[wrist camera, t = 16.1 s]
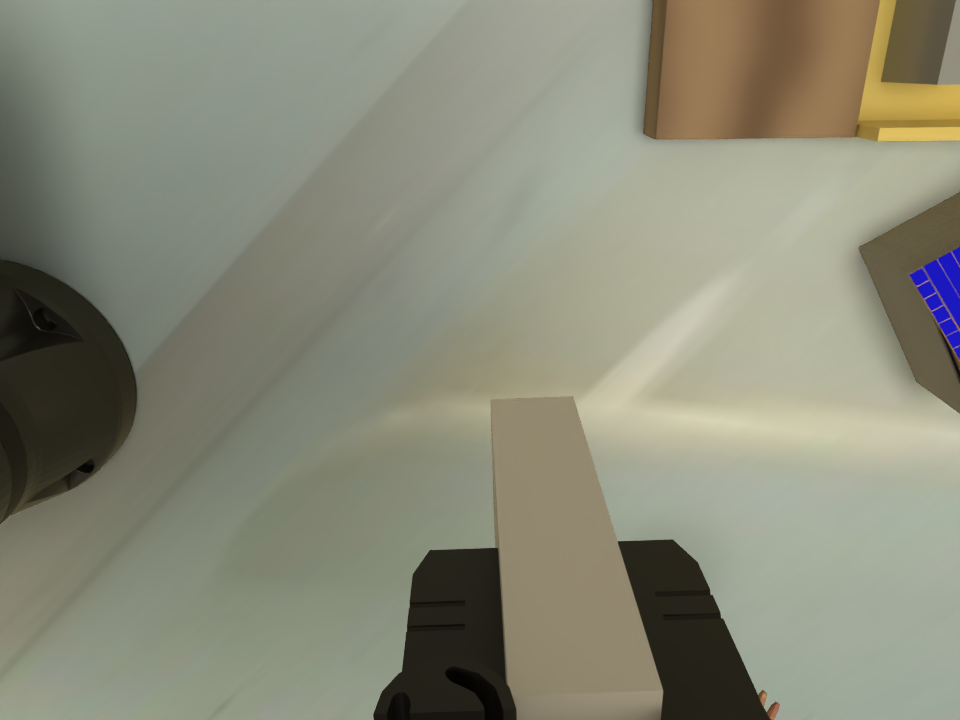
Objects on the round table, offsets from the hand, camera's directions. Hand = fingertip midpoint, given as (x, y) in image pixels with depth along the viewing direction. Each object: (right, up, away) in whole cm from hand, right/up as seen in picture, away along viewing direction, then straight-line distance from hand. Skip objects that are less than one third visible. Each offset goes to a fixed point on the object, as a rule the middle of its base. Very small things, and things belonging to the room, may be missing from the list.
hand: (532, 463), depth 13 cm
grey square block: (+20, +18, +21) cm, 34 cm away
